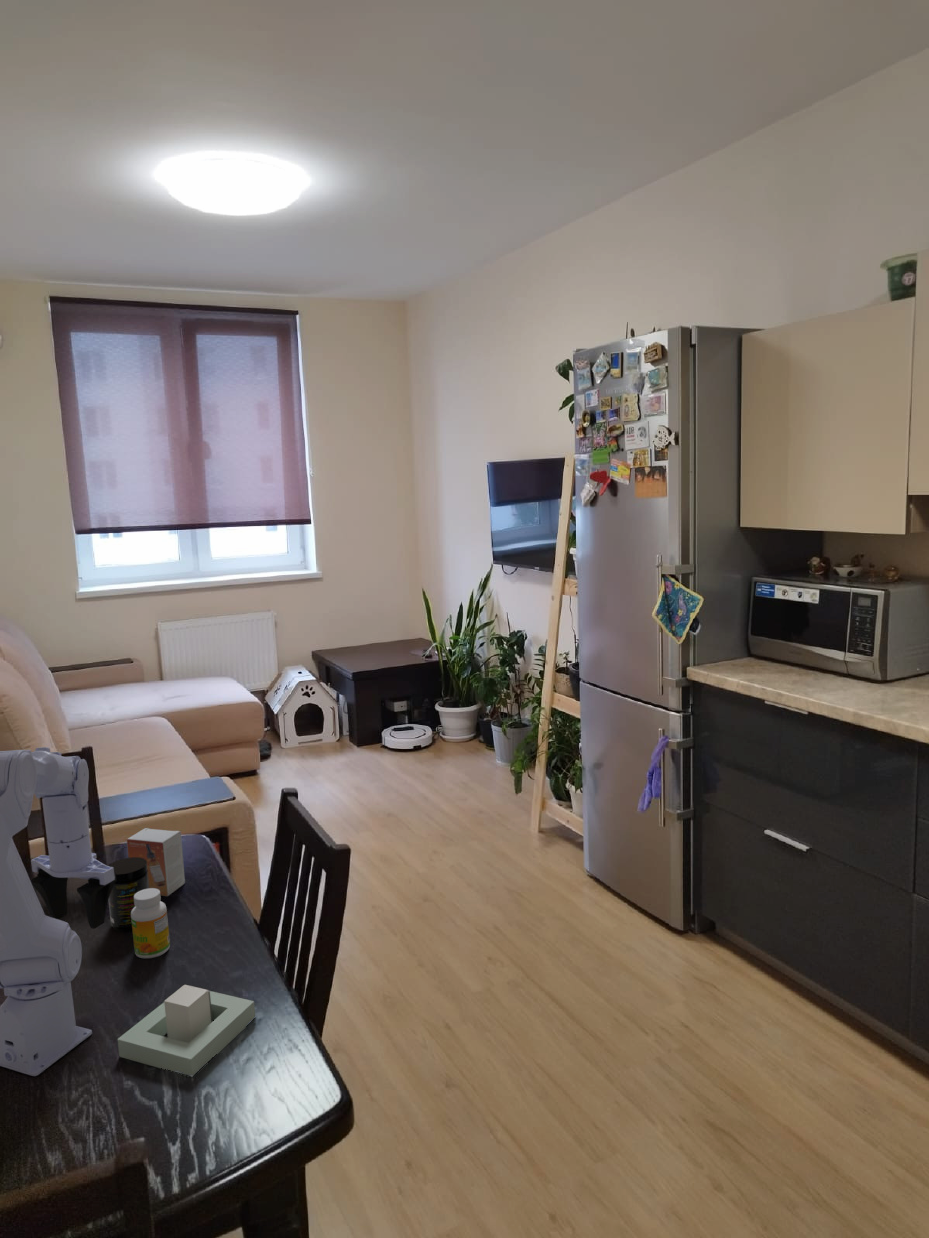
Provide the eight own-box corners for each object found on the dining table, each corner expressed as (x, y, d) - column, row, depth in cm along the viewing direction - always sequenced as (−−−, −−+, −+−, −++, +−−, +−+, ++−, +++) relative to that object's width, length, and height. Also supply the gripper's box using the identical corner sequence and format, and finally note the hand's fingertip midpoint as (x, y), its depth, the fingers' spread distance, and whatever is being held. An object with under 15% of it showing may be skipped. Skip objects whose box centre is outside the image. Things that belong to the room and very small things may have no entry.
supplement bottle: (127, 954, 139) (121, 897, 137) (153, 938, 144) (147, 883, 142) (151, 962, 136) (145, 904, 135) (177, 945, 141) (171, 889, 140)
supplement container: (159, 922, 149) (153, 865, 147) (119, 937, 145) (112, 878, 143) (144, 909, 154) (138, 853, 152) (105, 922, 150) (98, 865, 148)
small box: (130, 892, 161) (125, 838, 159) (150, 879, 166) (144, 826, 164) (168, 897, 158) (162, 842, 157) (186, 883, 164) (181, 830, 162)
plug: (192, 1048, 115) (188, 1006, 114) (168, 1041, 116) (164, 1000, 115) (217, 1025, 119) (213, 985, 118) (194, 1019, 121) (190, 979, 120)
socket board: (192, 1077, 109) (190, 1059, 109) (119, 1056, 114) (117, 1038, 113) (255, 1017, 121) (254, 1001, 120) (186, 1000, 125) (185, 985, 125)
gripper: (125, 830, 130) (135, 916, 132) (54, 820, 135) (64, 901, 137) (89, 849, 123) (99, 939, 125) (15, 837, 129) (26, 923, 131)
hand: (78, 921), depth 131 cm, fingers open, 7 cm apart
